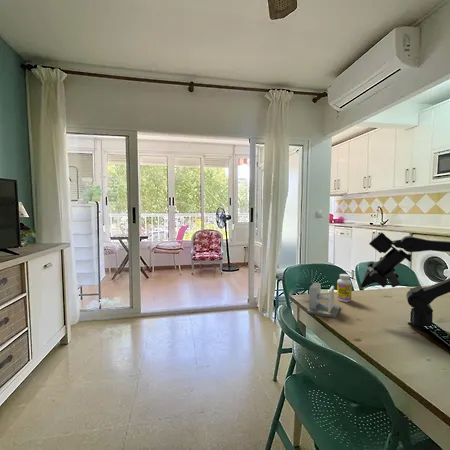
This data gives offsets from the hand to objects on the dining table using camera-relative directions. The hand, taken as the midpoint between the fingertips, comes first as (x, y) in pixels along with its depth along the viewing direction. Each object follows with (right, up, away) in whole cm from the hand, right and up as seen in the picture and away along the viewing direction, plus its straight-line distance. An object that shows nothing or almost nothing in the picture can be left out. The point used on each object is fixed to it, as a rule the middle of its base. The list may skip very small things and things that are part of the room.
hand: (361, 286), depth 113 cm
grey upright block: (-14, -11, +7) cm, 19 cm away
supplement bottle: (+2, -12, +22) cm, 25 cm away
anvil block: (-16, -12, +10) cm, 22 cm away
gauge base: (-13, -13, +8) cm, 20 cm away
